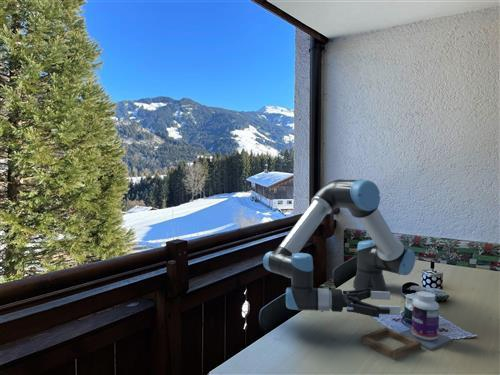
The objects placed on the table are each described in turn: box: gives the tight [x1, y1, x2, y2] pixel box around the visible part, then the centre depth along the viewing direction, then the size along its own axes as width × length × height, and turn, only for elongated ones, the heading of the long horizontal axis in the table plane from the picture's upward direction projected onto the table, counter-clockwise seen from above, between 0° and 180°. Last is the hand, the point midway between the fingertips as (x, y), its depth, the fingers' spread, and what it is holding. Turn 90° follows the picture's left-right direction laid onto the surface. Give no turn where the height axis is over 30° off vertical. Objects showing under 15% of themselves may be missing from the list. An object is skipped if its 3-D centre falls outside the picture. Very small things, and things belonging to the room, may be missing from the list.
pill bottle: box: [411, 290, 440, 340], centre depth 119 cm, size 8×8×14 cm
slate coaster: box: [400, 328, 454, 352], centre depth 119 cm, size 12×12×1 cm
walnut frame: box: [359, 327, 422, 361], centre depth 115 cm, size 13×13×2 cm
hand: (394, 302), depth 120 cm, fingers open, 13 cm apart
